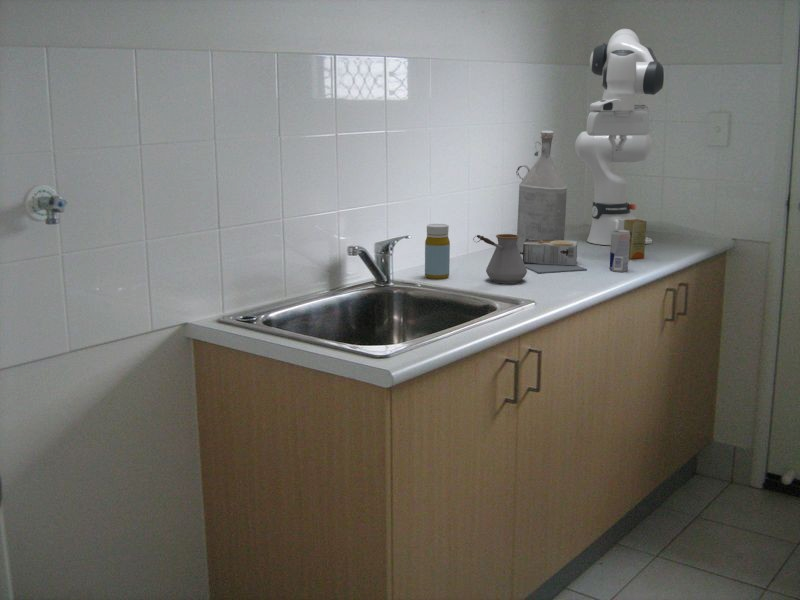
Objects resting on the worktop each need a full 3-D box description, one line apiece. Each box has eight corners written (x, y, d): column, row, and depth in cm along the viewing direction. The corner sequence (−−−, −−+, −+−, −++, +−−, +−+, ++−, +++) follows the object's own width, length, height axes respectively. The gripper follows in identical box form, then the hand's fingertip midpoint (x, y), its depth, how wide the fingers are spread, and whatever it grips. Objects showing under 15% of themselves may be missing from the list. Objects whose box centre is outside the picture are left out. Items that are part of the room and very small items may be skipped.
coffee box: (576, 260, 277) (525, 258, 281) (577, 240, 276) (526, 238, 280) (575, 266, 269) (522, 263, 272) (576, 245, 267) (522, 243, 271)
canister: (522, 247, 303) (526, 128, 293) (570, 252, 294) (576, 130, 284) (506, 252, 292) (510, 130, 283) (555, 258, 283) (561, 132, 274)
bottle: (420, 275, 257) (421, 224, 253) (442, 273, 259) (443, 223, 256) (431, 280, 251) (431, 227, 247) (453, 278, 253) (454, 226, 250)
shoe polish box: (630, 259, 281) (633, 222, 278) (621, 256, 286) (624, 219, 283) (643, 258, 283) (646, 221, 280) (635, 256, 287) (637, 219, 284)
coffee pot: (500, 274, 258) (501, 223, 255) (534, 280, 251) (536, 227, 248) (457, 287, 242) (458, 233, 239) (492, 293, 235) (494, 237, 232)
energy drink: (615, 267, 268) (617, 228, 266) (631, 270, 265) (633, 230, 262) (605, 270, 265) (608, 230, 262) (621, 272, 261) (623, 232, 258)
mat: (562, 260, 279) (562, 259, 279) (587, 270, 264) (587, 269, 264) (515, 263, 275) (515, 262, 275) (538, 273, 260) (538, 272, 260)
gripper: (643, 104, 277) (640, 149, 280) (585, 104, 271) (582, 150, 274) (655, 104, 271) (652, 150, 274) (595, 105, 265) (592, 151, 268)
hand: (616, 150), depth 274 cm, fingers closed
